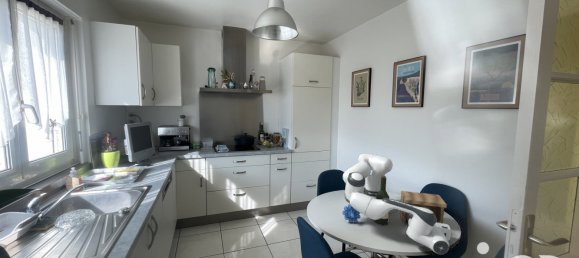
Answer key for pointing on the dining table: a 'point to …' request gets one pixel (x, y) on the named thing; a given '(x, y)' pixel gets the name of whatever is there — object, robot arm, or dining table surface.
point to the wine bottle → (381, 195)
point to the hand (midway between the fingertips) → (425, 220)
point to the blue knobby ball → (351, 214)
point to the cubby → (424, 203)
